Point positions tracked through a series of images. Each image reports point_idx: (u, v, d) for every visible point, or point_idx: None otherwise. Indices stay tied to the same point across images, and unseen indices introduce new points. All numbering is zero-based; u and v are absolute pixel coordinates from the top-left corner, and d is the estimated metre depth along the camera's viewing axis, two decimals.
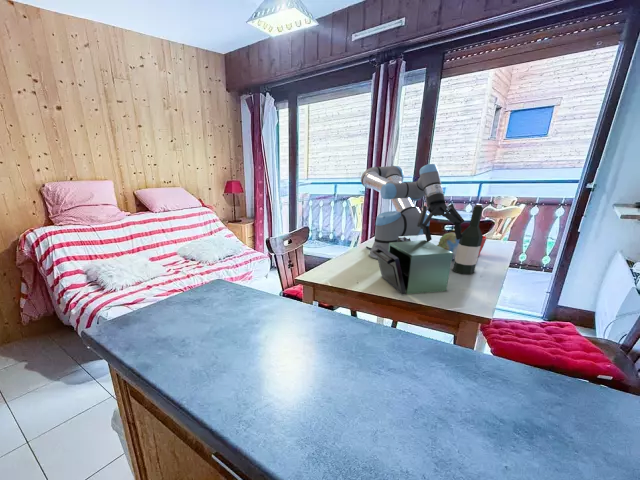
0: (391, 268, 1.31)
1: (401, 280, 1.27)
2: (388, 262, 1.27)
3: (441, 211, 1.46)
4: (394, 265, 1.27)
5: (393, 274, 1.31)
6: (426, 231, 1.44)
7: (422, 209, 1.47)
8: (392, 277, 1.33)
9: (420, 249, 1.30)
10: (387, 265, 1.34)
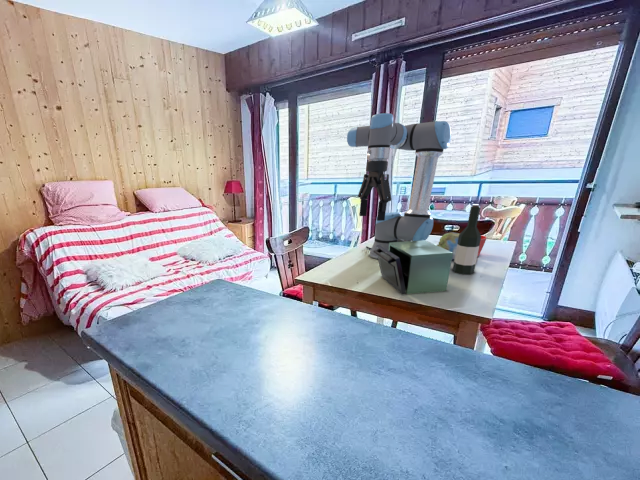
0: (392, 268, 1.30)
1: (401, 280, 1.27)
2: (389, 262, 1.27)
3: (373, 183, 1.23)
4: (394, 264, 1.27)
5: (393, 274, 1.31)
6: None
7: None
8: (392, 276, 1.33)
9: (420, 249, 1.30)
10: (388, 265, 1.34)
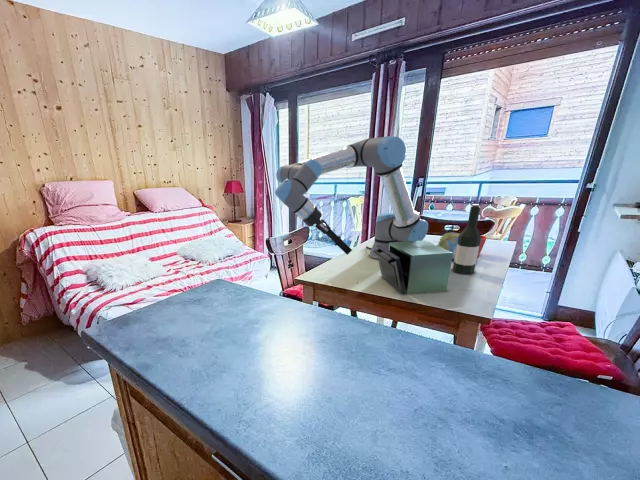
0: (392, 268, 1.30)
1: (401, 280, 1.27)
2: (389, 262, 1.27)
3: (321, 229, 1.27)
4: (394, 264, 1.27)
5: (393, 274, 1.31)
6: None
7: None
8: (392, 276, 1.33)
9: (420, 249, 1.30)
10: (388, 265, 1.34)
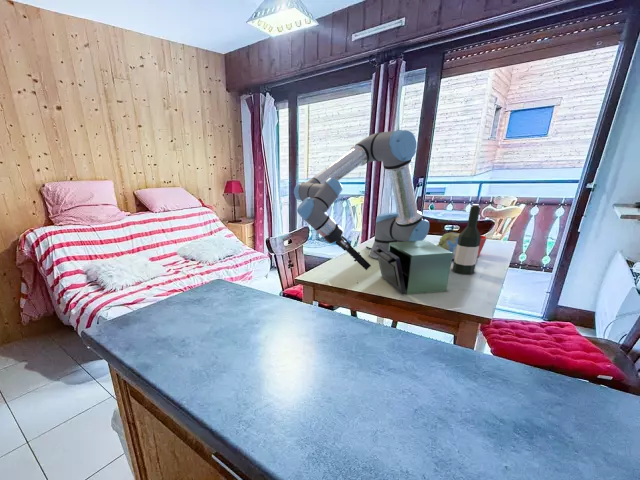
0: (392, 268, 1.30)
1: (401, 280, 1.27)
2: (389, 262, 1.27)
3: None
4: (394, 264, 1.27)
5: (393, 274, 1.31)
6: None
7: None
8: (392, 276, 1.33)
9: (420, 249, 1.30)
10: (388, 265, 1.34)
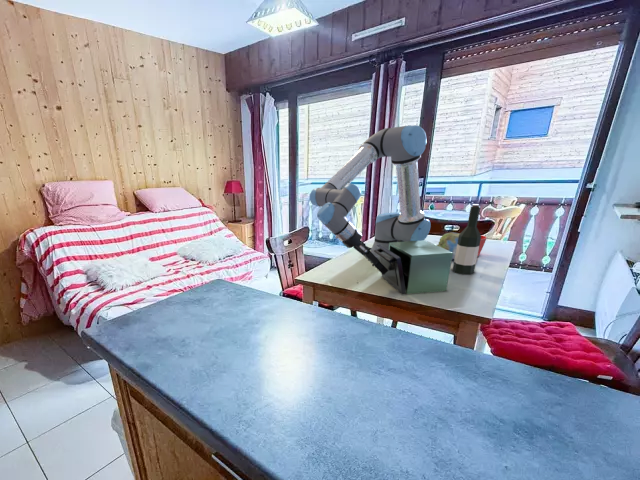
0: (392, 268, 1.30)
1: (402, 280, 1.27)
2: (390, 261, 1.27)
3: None
4: (395, 264, 1.27)
5: (394, 274, 1.31)
6: None
7: None
8: (393, 276, 1.33)
9: (420, 249, 1.30)
10: (388, 265, 1.34)
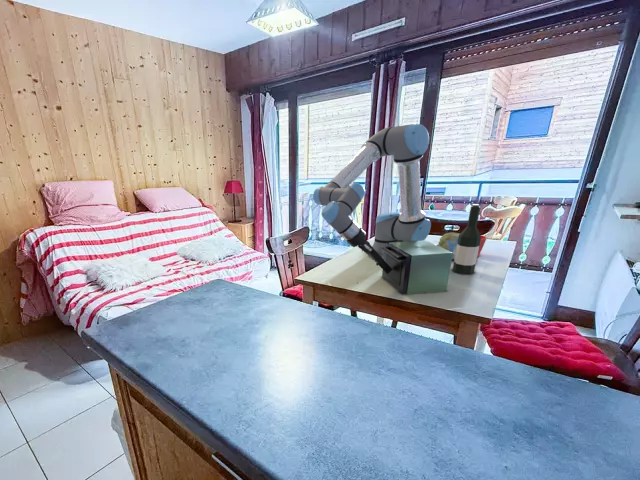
0: (398, 266, 1.30)
1: (405, 279, 1.27)
2: (398, 258, 1.26)
3: (364, 249, 1.31)
4: (403, 262, 1.26)
5: (398, 272, 1.31)
6: None
7: None
8: (396, 275, 1.33)
9: (420, 249, 1.30)
10: (394, 263, 1.34)
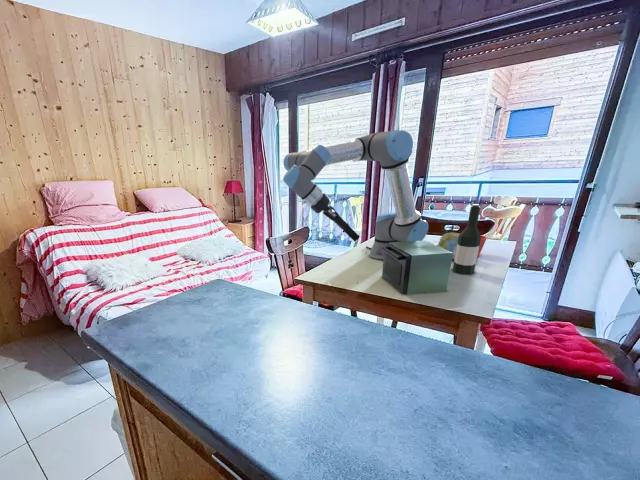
0: (398, 266, 1.30)
1: (405, 279, 1.27)
2: (398, 258, 1.26)
3: None
4: (403, 262, 1.26)
5: (398, 272, 1.31)
6: None
7: None
8: (396, 275, 1.33)
9: (420, 249, 1.30)
10: (394, 263, 1.34)
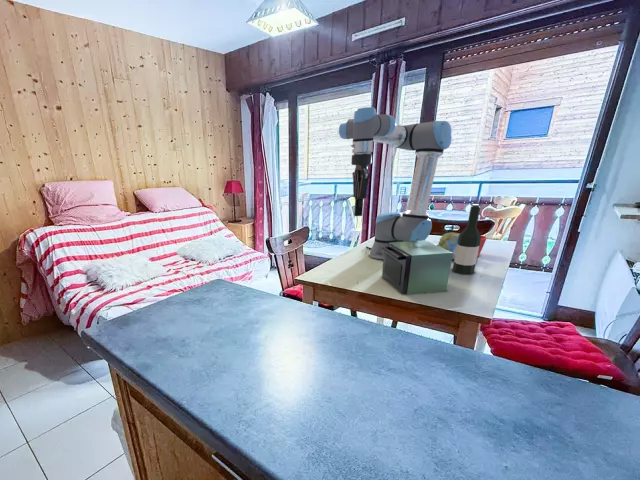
0: (398, 266, 1.30)
1: (405, 279, 1.27)
2: (398, 258, 1.26)
3: None
4: (403, 262, 1.26)
5: (398, 272, 1.31)
6: None
7: None
8: (396, 275, 1.33)
9: (420, 249, 1.30)
10: (394, 263, 1.34)
